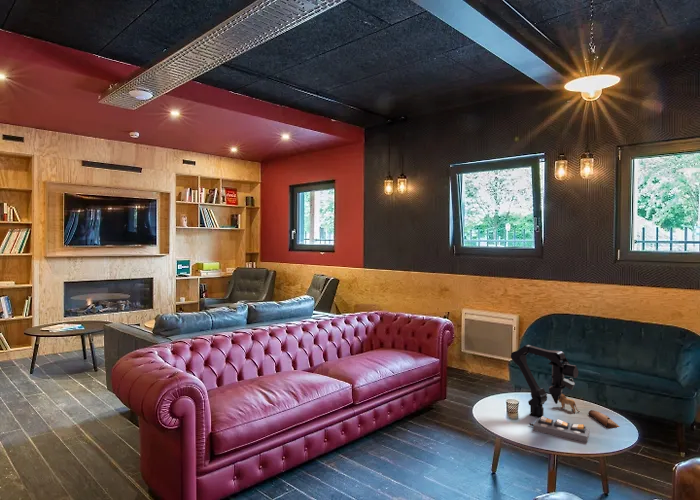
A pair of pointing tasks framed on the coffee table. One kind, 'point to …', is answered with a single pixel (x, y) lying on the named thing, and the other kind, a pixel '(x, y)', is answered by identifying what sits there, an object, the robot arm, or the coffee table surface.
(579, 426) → the rocker right
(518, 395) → the coffee table surface
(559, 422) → the rocker middle
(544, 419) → the block
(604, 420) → the sunglasses case
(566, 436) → the power strip
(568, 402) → the lion figurine
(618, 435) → the coffee table surface
